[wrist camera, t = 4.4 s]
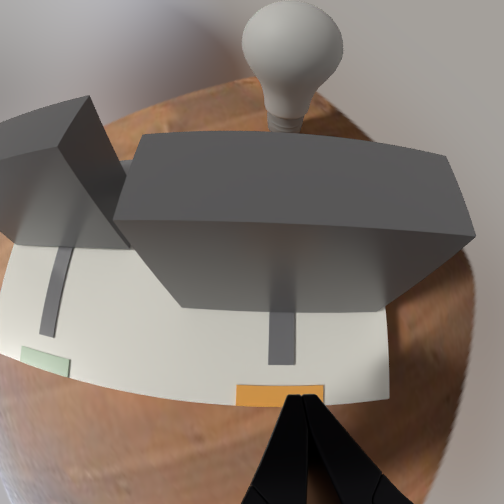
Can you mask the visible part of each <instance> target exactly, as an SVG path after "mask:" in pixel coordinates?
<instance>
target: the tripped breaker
mask: <svg viewBox="0 0 504 504" xmlns="http://www.w3.org/2000/svg"><path fill="white" fill-rule="evenodd" d="M113 221H114V223H115V224H116V226H117V227H118V228H119V230H120V231H121V232H122V234H123V235H124V236H125V238H126V239H127V240H128V242H129V243H130V244H131V246H132V247H133V248H134V250H135V251H136V252H137V254H138V255H139V256H140V257H141V259H142V260H143V261H144V262H145V264H146V265H147V266H148V268H149V269H150V270H151V271H152V273H153V274H154V275H155V276H156V277H157V279H158V280H159V281H160V282H161V284H162V285H163V286H164V287H165V288H166V290H167V291H168V292H169V293H170V294H171V296H172V297H173V298H174V299H175V300H176V302H177V303H178V304H179V305H180V306H181V307H182V308H193V309H209V310H228V311H252V312H290V313H353V312H377V311H378V310H380V309H381V308H383V307H384V306H386V305H387V304H389V303H390V302H392V301H393V300H395V299H396V298H398V297H399V296H401V295H402V294H403V293H405V292H406V291H408V290H409V289H410V288H412V287H413V286H415V285H416V284H417V283H419V282H420V281H421V280H423V279H424V278H425V277H427V276H428V275H429V274H431V273H432V272H433V271H435V270H436V269H437V268H438V267H440V266H441V265H442V264H444V263H445V262H446V261H447V260H449V259H450V258H451V257H452V256H454V255H455V254H456V253H457V252H458V251H460V250H461V249H462V248H463V247H464V246H466V245H467V244H468V243H469V242H470V241H471V240H473V239H474V238H475V236H476V234H475V231H474V228H473V225H472V221H471V218H470V216H469V212H468V210H467V207H466V204H465V201H464V198H463V196H462V193H461V191H460V188H459V186H458V183H457V181H456V178H455V176H454V173H453V171H452V169H451V166H450V165H449V162H448V160H447V158H446V156H443V155H439V154H434V153H430V152H425V151H421V150H416V149H411V148H406V147H400V146H395V145H389V144H383V143H377V142H371V141H364V140H356V139H349V138H340V137H332V136H322V135H311V134H298V133H282V132H260V131H194V132H172V133H157V134H144V135H142V137H141V140H140V142H139V145H138V147H137V150H136V152H135V155H134V158H133V160H132V163H131V166H130V168H129V171H128V174H127V177H126V180H125V183H124V186H123V188H122V191H121V195H120V198H119V201H118V204H117V207H116V210H115V214H114V217H113Z"/></svg>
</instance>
